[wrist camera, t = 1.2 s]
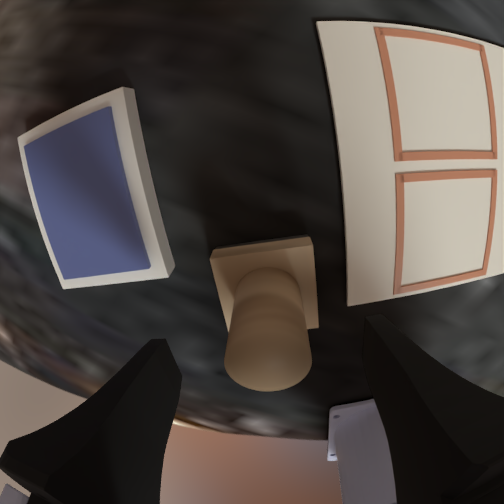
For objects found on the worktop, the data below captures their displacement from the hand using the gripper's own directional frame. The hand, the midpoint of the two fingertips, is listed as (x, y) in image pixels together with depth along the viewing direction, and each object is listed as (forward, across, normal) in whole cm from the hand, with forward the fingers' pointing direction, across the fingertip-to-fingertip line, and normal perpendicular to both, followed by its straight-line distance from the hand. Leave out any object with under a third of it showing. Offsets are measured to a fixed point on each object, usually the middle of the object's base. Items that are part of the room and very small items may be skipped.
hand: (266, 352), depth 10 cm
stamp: (+5, 0, 0) cm, 5 cm away
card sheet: (+5, -10, -5) cm, 12 cm away
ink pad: (+5, +8, -6) cm, 11 cm away
